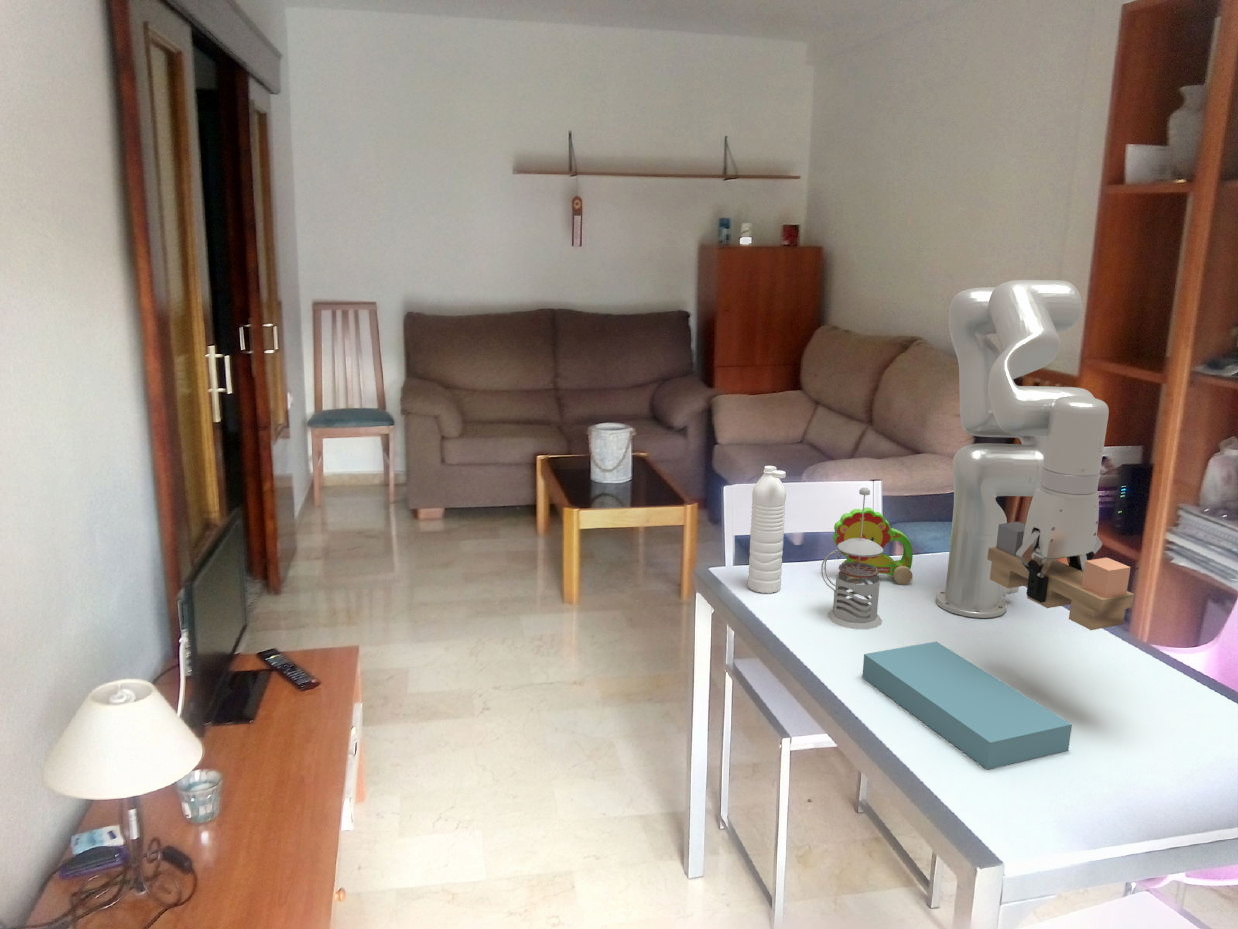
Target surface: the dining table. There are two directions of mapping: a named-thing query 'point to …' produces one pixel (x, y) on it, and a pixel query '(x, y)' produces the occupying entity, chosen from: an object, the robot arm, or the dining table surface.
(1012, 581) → the pallet
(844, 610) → the french press
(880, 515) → the toy lion
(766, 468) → the water bottle
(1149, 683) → the dining table surface
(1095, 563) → the pink cube
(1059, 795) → the dining table surface
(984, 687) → the block
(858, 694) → the dining table surface
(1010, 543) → the block
